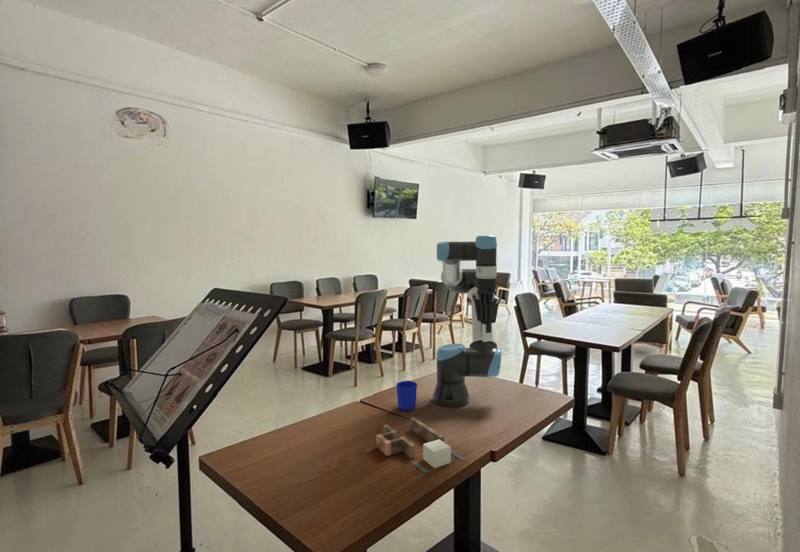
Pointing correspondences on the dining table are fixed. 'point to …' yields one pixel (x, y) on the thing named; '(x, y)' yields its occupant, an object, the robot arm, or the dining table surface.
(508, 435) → the dining table surface
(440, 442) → the block
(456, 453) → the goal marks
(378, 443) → the wooden bar frame
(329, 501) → the dining table surface
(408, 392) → the mug
